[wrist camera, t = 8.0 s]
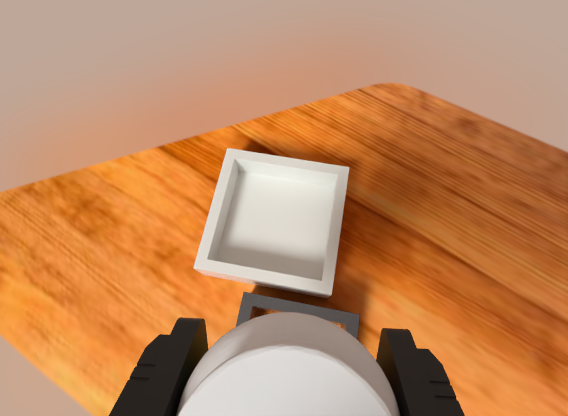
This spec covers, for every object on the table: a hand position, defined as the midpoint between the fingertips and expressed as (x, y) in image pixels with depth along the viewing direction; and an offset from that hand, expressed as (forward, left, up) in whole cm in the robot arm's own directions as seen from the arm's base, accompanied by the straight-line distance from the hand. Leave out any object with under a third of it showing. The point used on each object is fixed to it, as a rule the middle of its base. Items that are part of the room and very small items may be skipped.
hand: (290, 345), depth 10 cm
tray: (+3, -8, -16) cm, 18 cm away
